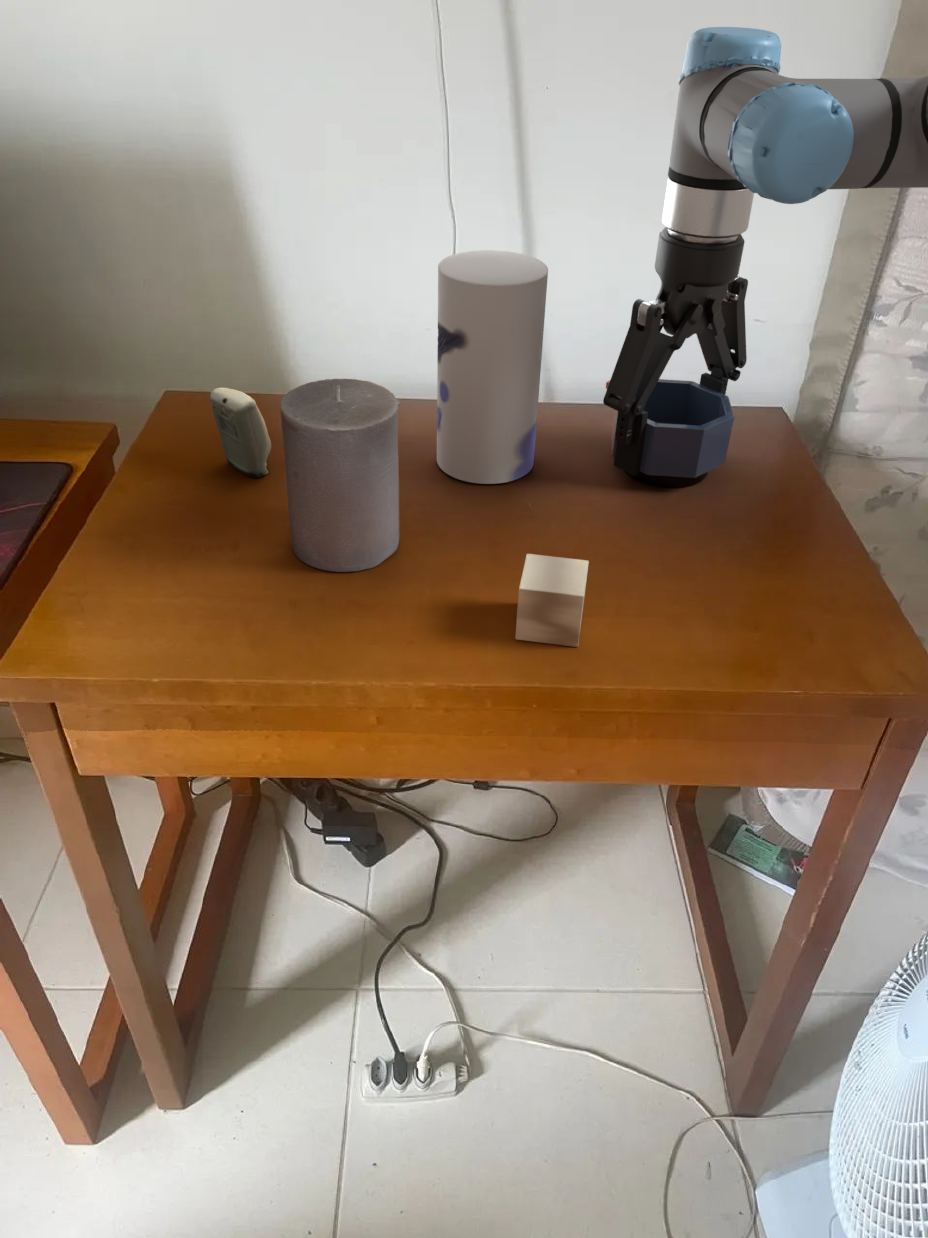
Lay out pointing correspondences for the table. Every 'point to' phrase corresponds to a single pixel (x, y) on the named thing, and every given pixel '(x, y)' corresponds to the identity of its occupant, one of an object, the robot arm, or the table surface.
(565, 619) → the block
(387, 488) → the pillar candle
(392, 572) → the table surface
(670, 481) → the bowl foot
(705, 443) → the bowl
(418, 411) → the table surface
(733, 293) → the robot arm
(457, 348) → the container
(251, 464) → the off-white long rounded piece
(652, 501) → the table surface
